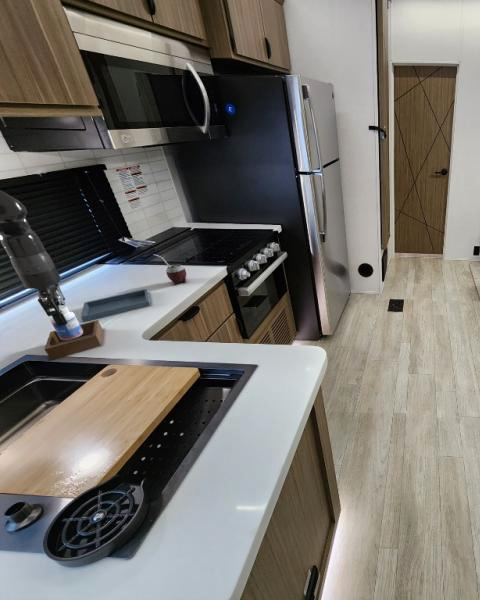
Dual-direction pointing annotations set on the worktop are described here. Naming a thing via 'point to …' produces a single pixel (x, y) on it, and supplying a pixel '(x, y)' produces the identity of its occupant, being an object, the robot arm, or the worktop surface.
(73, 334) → the pill bottle
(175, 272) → the mate gourd
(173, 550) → the worktop surface
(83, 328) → the basket
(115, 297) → the tray
